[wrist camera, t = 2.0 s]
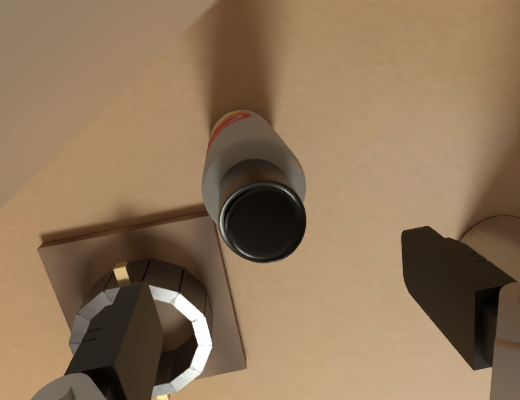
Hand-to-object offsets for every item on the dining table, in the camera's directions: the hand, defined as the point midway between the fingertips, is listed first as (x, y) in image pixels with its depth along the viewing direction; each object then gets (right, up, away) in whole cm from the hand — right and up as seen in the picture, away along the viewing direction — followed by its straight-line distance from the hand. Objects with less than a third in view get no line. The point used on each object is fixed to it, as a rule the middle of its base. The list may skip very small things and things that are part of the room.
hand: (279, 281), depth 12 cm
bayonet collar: (-11, -9, +26) cm, 30 cm away
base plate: (-12, -8, +27) cm, 31 cm away
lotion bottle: (-2, +8, +23) cm, 24 cm away
